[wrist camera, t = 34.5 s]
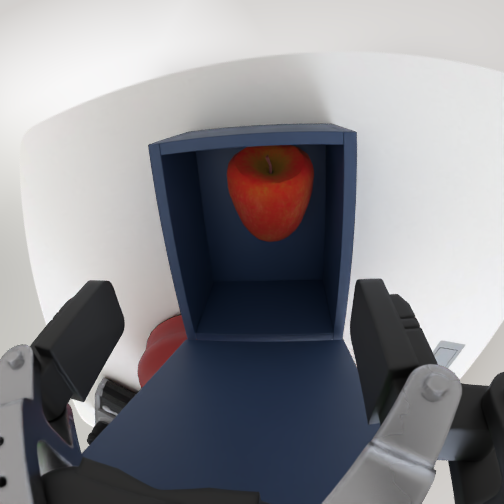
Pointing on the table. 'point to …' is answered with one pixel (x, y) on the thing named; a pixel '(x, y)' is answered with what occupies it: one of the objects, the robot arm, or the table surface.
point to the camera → (108, 405)
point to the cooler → (251, 248)
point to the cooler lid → (244, 420)
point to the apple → (270, 189)
